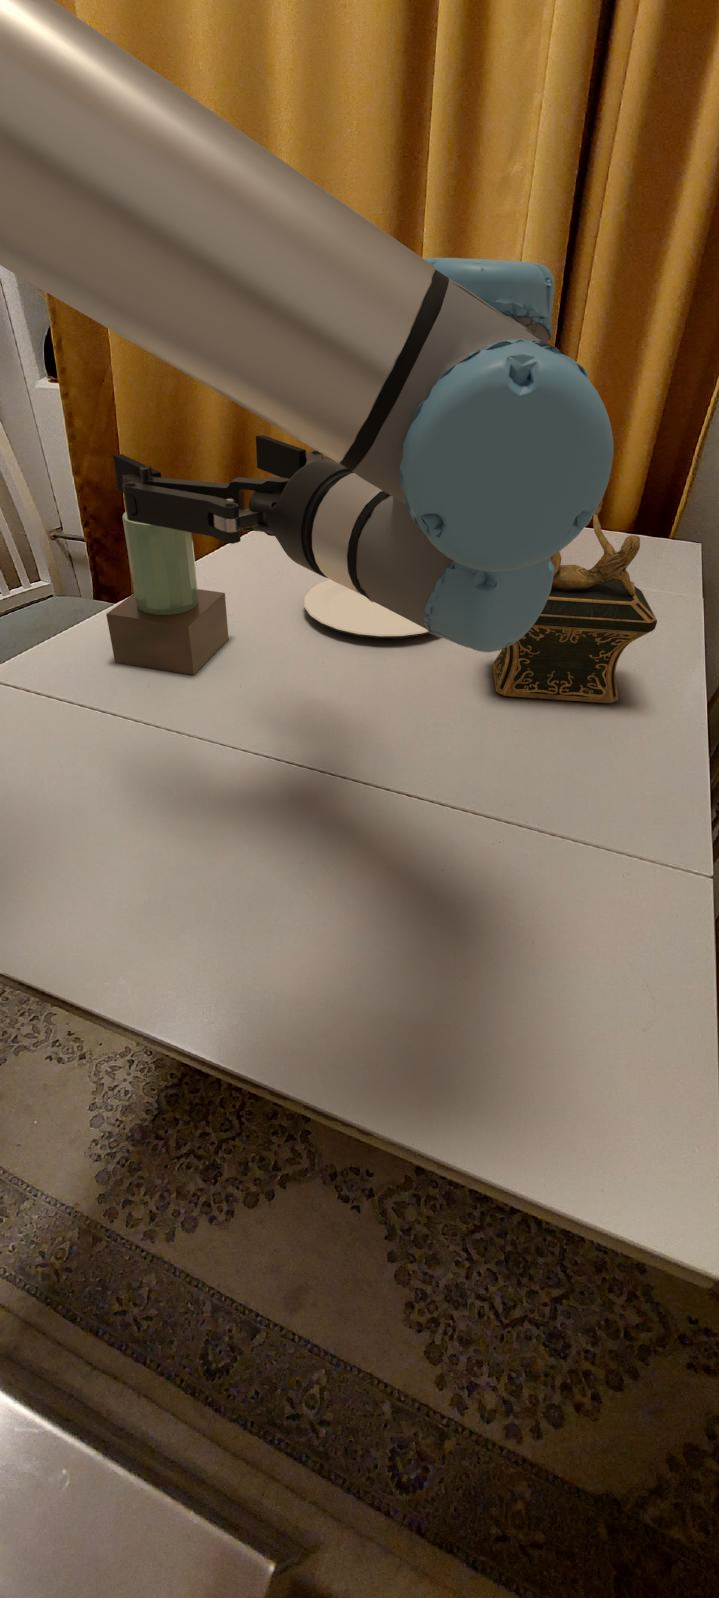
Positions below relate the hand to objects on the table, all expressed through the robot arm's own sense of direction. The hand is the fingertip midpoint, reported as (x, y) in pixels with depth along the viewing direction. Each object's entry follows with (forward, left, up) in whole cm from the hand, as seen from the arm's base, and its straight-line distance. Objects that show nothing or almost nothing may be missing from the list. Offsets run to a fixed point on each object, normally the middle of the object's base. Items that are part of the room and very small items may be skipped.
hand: (193, 461), depth 65 cm
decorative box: (+32, +17, -25) cm, 44 cm away
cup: (-11, +11, -19) cm, 25 cm away
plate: (+10, +30, -25) cm, 41 cm away
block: (-11, +11, -25) cm, 29 cm away
